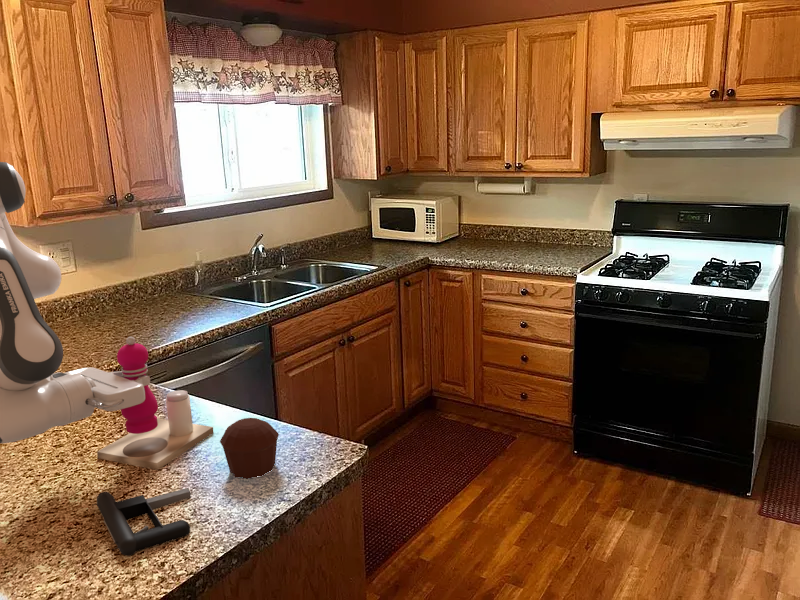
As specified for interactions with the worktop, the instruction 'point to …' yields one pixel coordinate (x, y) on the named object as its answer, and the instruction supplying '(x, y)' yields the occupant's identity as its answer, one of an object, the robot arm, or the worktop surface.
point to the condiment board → (153, 446)
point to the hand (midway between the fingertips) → (139, 376)
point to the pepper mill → (133, 367)
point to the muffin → (250, 447)
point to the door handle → (138, 506)
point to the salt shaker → (179, 413)
